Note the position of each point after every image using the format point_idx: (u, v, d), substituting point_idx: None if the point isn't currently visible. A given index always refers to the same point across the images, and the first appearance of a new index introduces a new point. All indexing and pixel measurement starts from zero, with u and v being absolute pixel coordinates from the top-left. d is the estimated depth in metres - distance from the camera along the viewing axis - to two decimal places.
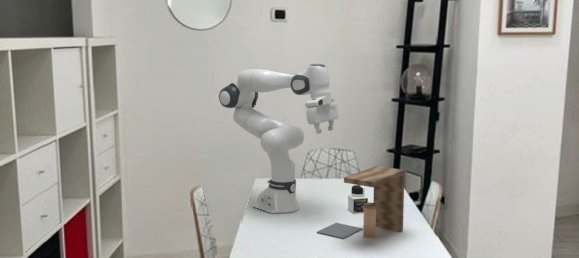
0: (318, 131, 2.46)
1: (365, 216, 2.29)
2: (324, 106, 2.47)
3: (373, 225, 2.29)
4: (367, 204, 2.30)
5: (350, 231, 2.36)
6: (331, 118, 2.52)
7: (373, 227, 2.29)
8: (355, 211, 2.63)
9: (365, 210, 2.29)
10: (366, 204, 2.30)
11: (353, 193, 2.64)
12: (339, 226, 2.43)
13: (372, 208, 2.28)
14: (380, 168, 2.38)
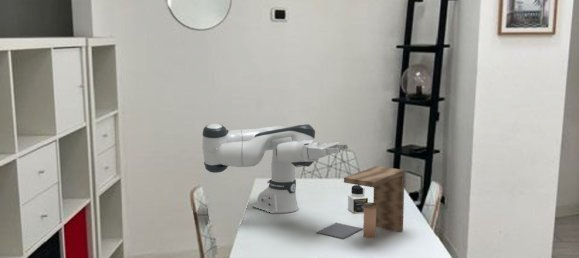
0: (336, 149, 2.24)
1: (365, 216, 2.29)
2: (314, 144, 2.32)
3: (373, 225, 2.29)
4: (367, 204, 2.30)
5: (350, 231, 2.36)
6: (333, 143, 2.34)
7: (373, 227, 2.29)
8: (355, 211, 2.63)
9: (365, 210, 2.29)
10: (366, 204, 2.30)
11: (353, 193, 2.64)
12: (339, 226, 2.43)
13: (372, 208, 2.28)
14: (380, 168, 2.38)
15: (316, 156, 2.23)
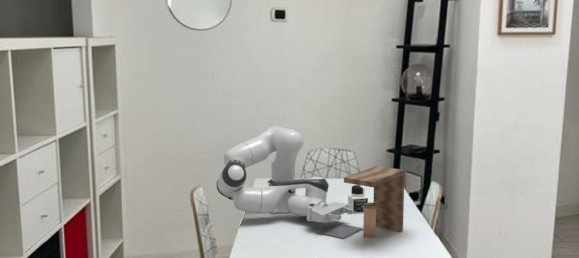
0: (337, 217, 2.33)
1: (365, 216, 2.29)
2: (321, 205, 2.42)
3: (373, 225, 2.29)
4: (367, 204, 2.30)
5: (350, 231, 2.36)
6: (339, 206, 2.43)
7: (373, 227, 2.29)
8: (355, 211, 2.63)
9: (365, 210, 2.29)
10: (366, 204, 2.30)
11: (353, 193, 2.64)
12: (339, 226, 2.43)
13: (372, 208, 2.28)
14: (380, 168, 2.38)
15: (317, 220, 2.34)
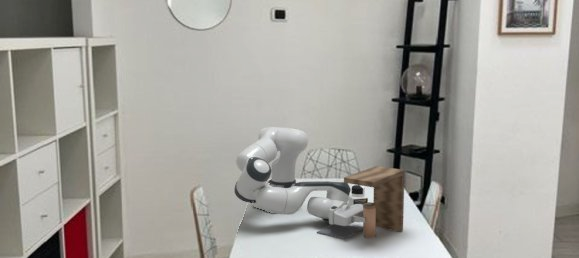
0: (362, 219, 2.28)
1: (365, 216, 2.29)
2: (343, 208, 2.36)
3: (373, 225, 2.29)
4: (366, 204, 2.29)
5: (350, 231, 2.36)
6: (362, 209, 2.36)
7: (373, 227, 2.29)
8: None
9: (364, 210, 2.29)
10: (365, 204, 2.29)
11: (353, 193, 2.64)
12: (339, 226, 2.43)
13: (371, 208, 2.28)
14: (380, 168, 2.38)
15: (340, 223, 2.28)
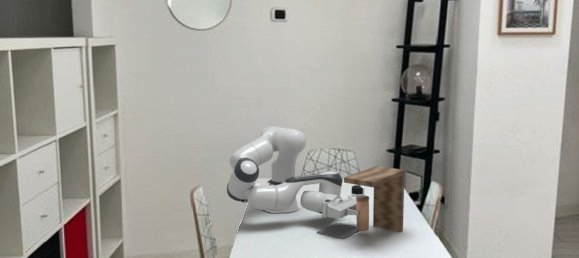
0: (355, 212, 2.30)
1: (358, 209, 2.31)
2: (336, 201, 2.37)
3: (366, 218, 2.31)
4: (360, 197, 2.31)
5: (350, 231, 2.36)
6: (355, 202, 2.38)
7: (366, 220, 2.31)
8: None
9: (358, 203, 2.30)
10: (359, 197, 2.31)
11: (353, 193, 2.64)
12: (339, 226, 2.43)
13: (365, 201, 2.29)
14: (380, 168, 2.38)
15: (333, 216, 2.29)
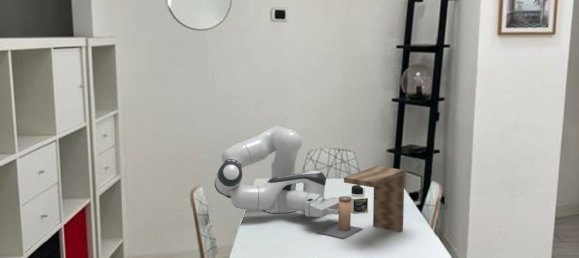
0: (335, 211, 2.34)
1: (340, 209, 2.37)
2: (319, 200, 2.43)
3: (348, 218, 2.37)
4: (342, 198, 2.37)
5: (350, 231, 2.36)
6: (338, 201, 2.44)
7: (348, 220, 2.37)
8: (355, 211, 2.63)
9: (340, 203, 2.36)
10: (341, 198, 2.37)
11: (353, 193, 2.64)
12: None
13: (347, 201, 2.35)
14: (380, 168, 2.38)
15: (315, 215, 2.35)
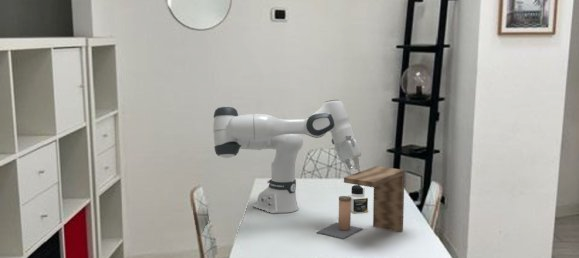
0: None
1: (340, 209, 2.37)
2: None
3: (348, 217, 2.37)
4: (342, 197, 2.38)
5: (350, 231, 2.36)
6: (348, 157, 2.32)
7: (348, 219, 2.37)
8: (355, 211, 2.63)
9: (340, 203, 2.37)
10: (341, 197, 2.38)
11: (353, 193, 2.64)
12: None
13: (347, 201, 2.36)
14: (380, 168, 2.38)
15: None
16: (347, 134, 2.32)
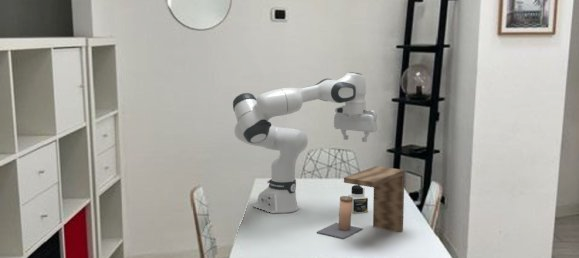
0: None
1: (341, 209, 2.36)
2: (348, 115, 2.49)
3: (348, 218, 2.37)
4: (343, 197, 2.37)
5: (350, 231, 2.36)
6: (360, 129, 2.47)
7: (348, 220, 2.37)
8: (355, 211, 2.63)
9: (341, 203, 2.36)
10: (342, 197, 2.37)
11: (353, 193, 2.64)
12: None
13: (348, 201, 2.35)
14: (380, 168, 2.38)
15: None
16: (364, 108, 2.48)
